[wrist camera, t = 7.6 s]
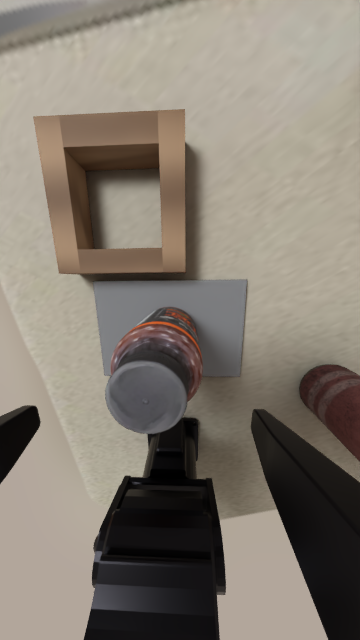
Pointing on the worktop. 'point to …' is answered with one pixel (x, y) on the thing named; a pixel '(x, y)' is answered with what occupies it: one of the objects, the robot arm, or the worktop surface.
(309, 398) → the can
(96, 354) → the worktop surface
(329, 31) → the worktop surface
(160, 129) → the walnut holder
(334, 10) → the worktop surface
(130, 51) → the worktop surface
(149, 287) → the grey rubber mat
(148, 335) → the supplement bottle
